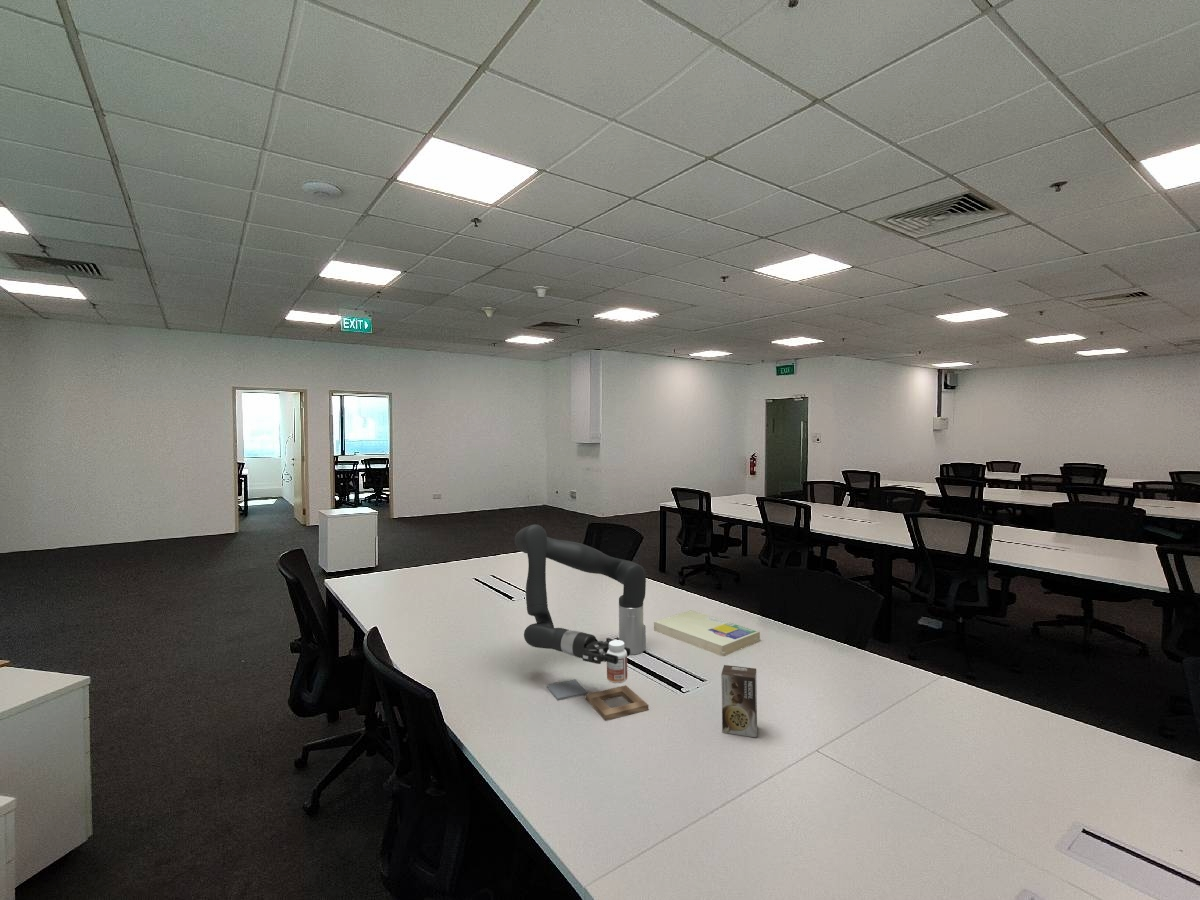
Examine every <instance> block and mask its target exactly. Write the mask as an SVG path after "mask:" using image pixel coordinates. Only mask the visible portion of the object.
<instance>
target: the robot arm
mask: <svg viewBox="0 0 1200 900" xmlns="http://www.w3.org/2000/svg"><path fill="white" fill-rule="evenodd" d="M514 544H515V546H516V548H517V549H518V550H519V551H520V552H522V553H524V554H527V560H528V561H527V562H528V570H527V577H526V578H527V579H526V583H525V601H526V602H525V603H526V610H527V614H528V615H529V616H531V617H534V619H535V622H536V623H531V624H529V625H527V627H526V628H525V629H524V631H523V632H524V633H523V638H524V641H525V643H527V644H528V645H529V646H531V647H532V648H538V649H547V650H548V649H549V650H555V651H557V652H562V653H564V654H567V655H569V656H572V657H576V658H579V659H582V661H583V662H588V663H592V664H597V665H600V664H601V663H607V662H610V663H613V664H617V663H618V656H615V655H612V654H608V653H607V651H608V650H609V642H610V641H613V640H614V639H612V638H609V637H607V638H606V640H605V641H603V640H598V639H597V638H596V636H595V635H594V634H590V633H587V632H583V631H579V630H575V629H574V630H572V629H567V628H564V627H555V625H554V623H553V620H552V619H553V618H552V616H551V613H550V610H549V607H548V593H547V583H546V581H547V580H546V579H547V577H546V574H547V573H546V567H547V566H546V565H547V564H546V563H547V561H546V560H547V559H550V560H552V561H553V562H554V561H555V562H556V563H559V564H561V565H564V566H567V567H570V568H572V569H574V570H577V571H580V572H584V573H589V574H595V575H602V576H606V577H608V578H610V579H612V580H615V581H616V582H618V583H620V584H621V585H622V586H623V590H622V591H623V592H622V595H620V596H619V597H618V640H621V641H623V642H624V645H625V647H624V649H625V650H626V652H627V657H629V656H630V655H638V654H642V652H644V651H646V649H647V648H646V646H647V645H646V643H647V642H646V641H647V640H646V637H647V636H646V632H647V631H646V630H647V629H646V628H647V627H646V625H645V624H644V600H645V598H646V589H647V588H646V587H647V575H646V570H645V569H644V567H643V566H642V565H641V564H638V563H636V562H635V561H631V560H626V559H622V558H617V557H613V556H610V555H608V554H606V553H603V551H600V550H598V549H596V548H594V547H592V546H589V545H587V544H584V543H580V542H577V541H570V540H562V539H555V538H552V537H549V536H548V535H547V531H546V529H545V528H544V527H543V526H541V525H539V524H530V525H528V526H525V527H523V528H521V529H520V530H519V531H517V532H516V534H515V536H514Z"/></svg>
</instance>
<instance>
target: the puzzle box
mask: <svg viewBox="0 0 1200 900" xmlns="http://www.w3.org/2000/svg"><path fill="white" fill-rule="evenodd" d="M653 631H654V632H656V631H657V633H658V634H662V635H664V636H667V637H670V638H672V639H676V640H678V641H681V642H683V643H686V644H689V645H691V646H694V647H696V648H699V649H701V650H704V651H707V652H710V653H712V654H716V655H718V656H720V657H725V656H727V655H730V654H732V653H734V652H737V651H739V650H742V649H744V648H746V646H747V647H749V646H752V645H754V644H757V643H759V642H760V641H761V638H760V637H761V636H760V635H761V634H760V631H759V630H756V629H752V628H749V627H745V626H743V625H740V624H737V623H734V622H731V621H727V620H725V619H722V618H717V617H714V616H711V615H708V614H706V613H702V612H698V611H695V610H693V609H692V610H687V611H684V612H680V613H678V614H674V615H672V616H668V617H664V618H661V619H658V620H654V621H653ZM756 642H757V643H756ZM753 643H754V644H753ZM751 644H752V645H751ZM748 645H749V646H748ZM741 648H742V649H741Z"/></svg>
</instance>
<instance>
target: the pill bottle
mask: <svg viewBox="0 0 1200 900" xmlns="http://www.w3.org/2000/svg"><path fill="white" fill-rule="evenodd" d="M624 647H625V645H624V642H623V641H621V640H619V639H613V641H610V642H609V648H608V651H607V653H608V654H612V655H615V656H618V663H617V664H613V663H610V662H606V679H607V681H608V682H609V683H612V684H623V683H625V682H626V681H627V680H628V656H627V652H626V650H625V649H624Z"/></svg>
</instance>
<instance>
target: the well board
mask: <svg viewBox="0 0 1200 900" xmlns="http://www.w3.org/2000/svg"><path fill="white" fill-rule="evenodd" d="M619 697H623V698H624V699H625V700H626V702H628V703H626V704H623V705H617V706H614V707H610V706H609V705H608V704H607V703H605V701H606V700H612V699H615V698H619ZM585 700H586V701H587V703H588V704H589V705H591V707H592V708H593V709H594V710H595V711H596V712H597V713H598V714H599V715H600V717H602V719H603V720H604V721H605V722H606V721H608V720H613V719H618V718H621V717H625V716H630V715H634V714H638V713H642V712H644V711H645V712H646V711H648V710H649V704H648V703H647V702H646V701H645V700H644V699H642V698H641V697H640V696H639V695H638V694H637V693H636V692H634V690H632V689H631V688H630V687H629V686H627V685H621V686H617V687H613V688H608V689H603V690H599V691H595V692H590V693H588V694H585Z"/></svg>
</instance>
